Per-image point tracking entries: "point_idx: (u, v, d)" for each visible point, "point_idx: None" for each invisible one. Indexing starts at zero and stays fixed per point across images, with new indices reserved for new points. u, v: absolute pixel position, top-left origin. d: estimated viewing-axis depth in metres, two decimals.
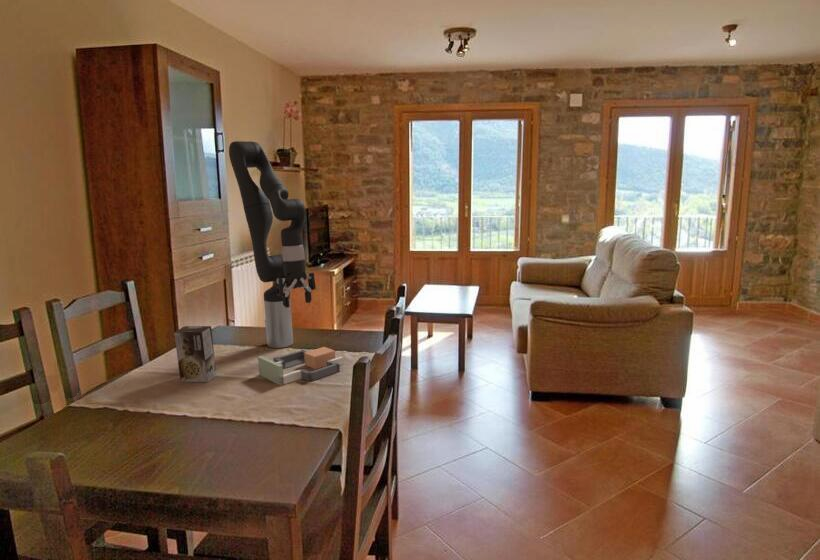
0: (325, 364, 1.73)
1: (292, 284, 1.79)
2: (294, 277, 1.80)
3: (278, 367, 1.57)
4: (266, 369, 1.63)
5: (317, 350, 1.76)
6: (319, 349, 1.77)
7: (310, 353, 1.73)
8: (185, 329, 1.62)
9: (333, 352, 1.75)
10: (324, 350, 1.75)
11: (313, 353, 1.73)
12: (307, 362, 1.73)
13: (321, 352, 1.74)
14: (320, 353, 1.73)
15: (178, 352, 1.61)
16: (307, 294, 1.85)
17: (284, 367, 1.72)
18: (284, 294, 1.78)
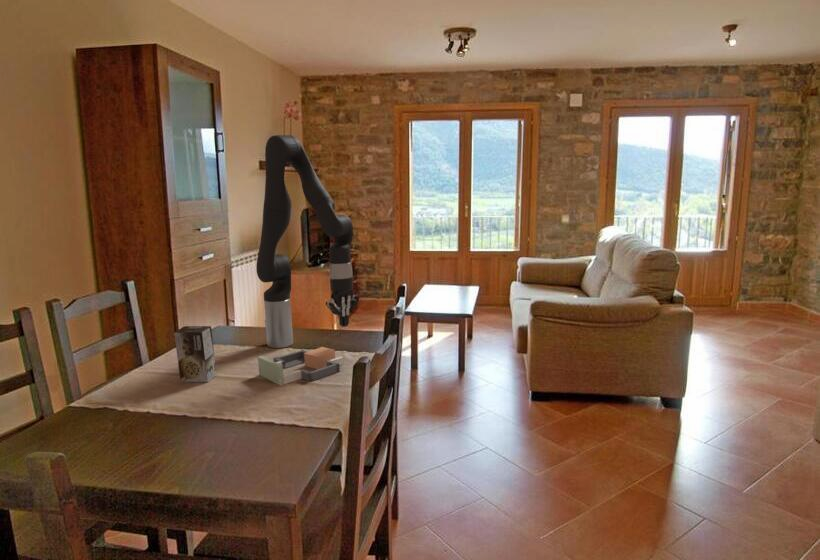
0: (326, 364, 1.73)
1: (342, 303, 1.76)
2: (342, 295, 1.76)
3: (278, 367, 1.57)
4: (266, 369, 1.63)
5: (317, 350, 1.76)
6: (318, 349, 1.76)
7: (310, 353, 1.73)
8: (185, 329, 1.62)
9: (333, 351, 1.75)
10: (324, 350, 1.76)
11: (314, 353, 1.73)
12: (308, 362, 1.73)
13: (321, 351, 1.74)
14: (321, 353, 1.73)
15: (178, 352, 1.61)
16: None
17: (284, 367, 1.72)
18: (341, 313, 1.77)
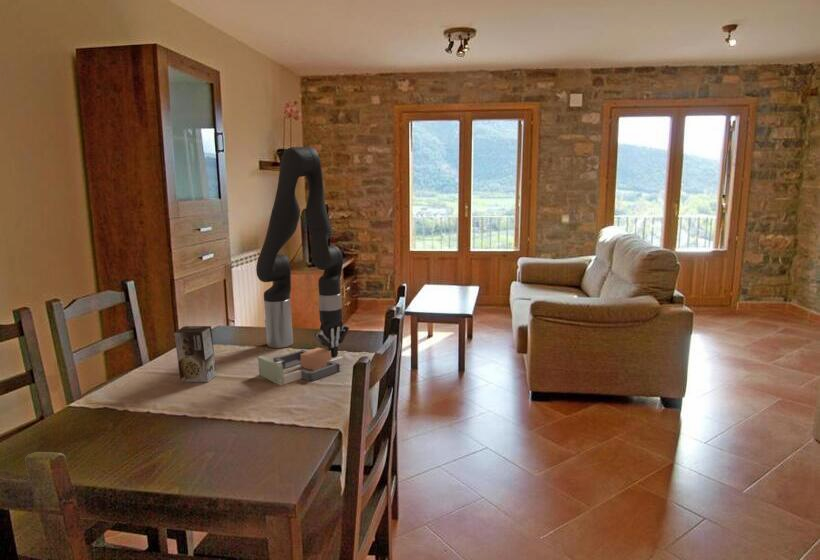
0: (322, 364, 1.73)
1: (332, 334, 1.75)
2: (331, 326, 1.75)
3: (278, 367, 1.57)
4: (266, 369, 1.63)
5: (313, 351, 1.75)
6: (314, 350, 1.76)
7: (306, 354, 1.72)
8: (185, 329, 1.62)
9: (329, 352, 1.75)
10: (320, 351, 1.75)
11: (310, 354, 1.72)
12: (304, 363, 1.72)
13: (317, 352, 1.73)
14: (317, 354, 1.72)
15: (178, 352, 1.61)
16: None
17: (284, 367, 1.72)
18: (331, 344, 1.76)
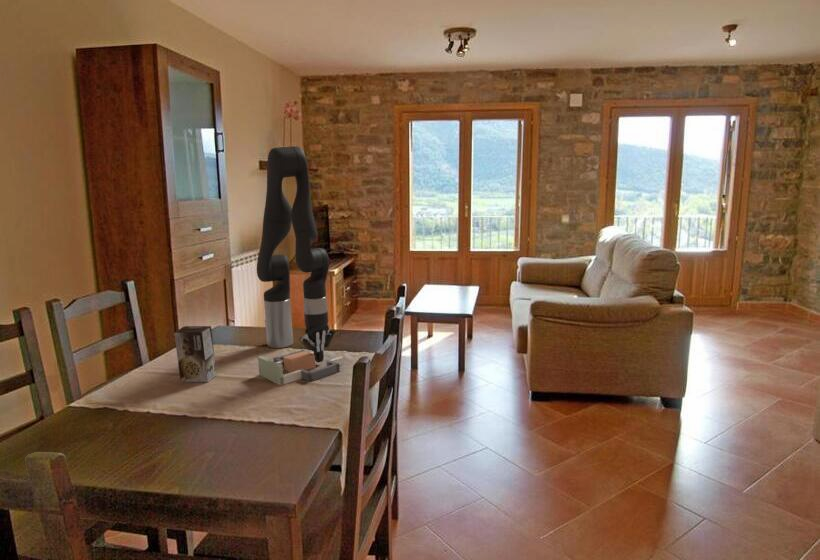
0: (304, 369, 1.69)
1: (317, 338, 1.71)
2: (316, 330, 1.71)
3: (278, 367, 1.57)
4: (266, 369, 1.63)
5: (297, 354, 1.72)
6: (299, 353, 1.73)
7: (289, 357, 1.70)
8: (185, 329, 1.62)
9: (313, 357, 1.71)
10: (304, 354, 1.72)
11: (292, 357, 1.69)
12: (286, 366, 1.70)
13: (300, 356, 1.70)
14: (299, 357, 1.69)
15: (178, 352, 1.61)
16: None
17: None
18: (316, 349, 1.72)
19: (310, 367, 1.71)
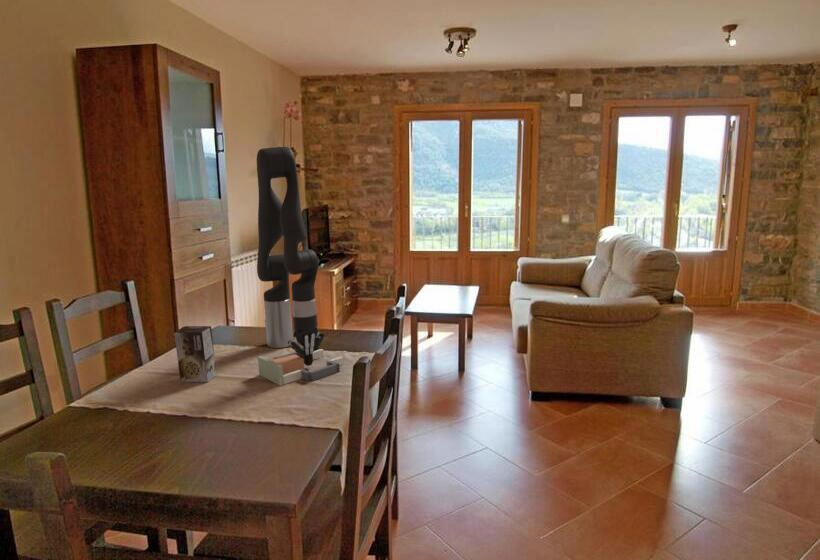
0: None
1: (306, 341, 1.68)
2: (305, 333, 1.68)
3: (278, 367, 1.57)
4: (266, 369, 1.63)
5: (286, 357, 1.70)
6: (288, 357, 1.70)
7: (277, 360, 1.67)
8: (185, 329, 1.62)
9: (301, 360, 1.68)
10: (293, 358, 1.69)
11: (280, 361, 1.67)
12: None
13: (289, 359, 1.67)
14: (287, 361, 1.66)
15: (178, 352, 1.61)
16: None
17: None
18: (305, 352, 1.69)
19: None
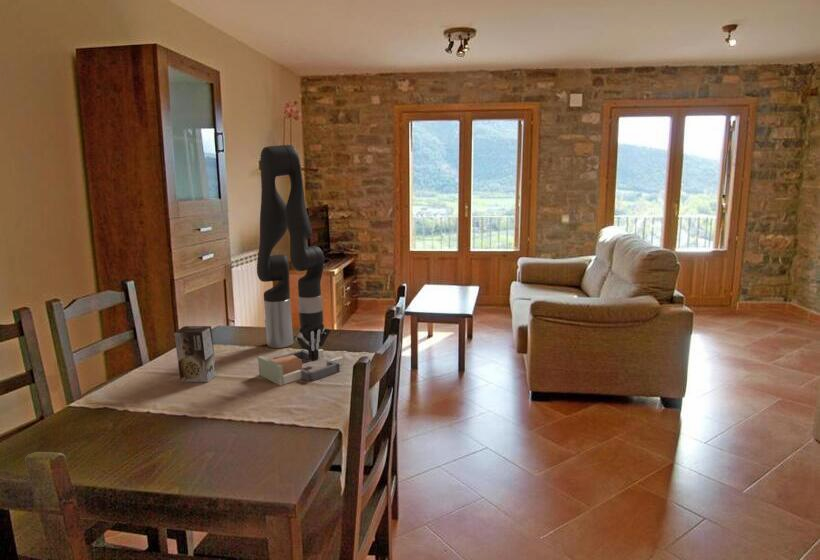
0: None
1: (312, 337, 1.70)
2: (311, 329, 1.70)
3: (278, 367, 1.57)
4: (266, 369, 1.63)
5: (284, 358, 1.69)
6: (287, 357, 1.70)
7: (275, 361, 1.67)
8: (185, 329, 1.62)
9: (299, 361, 1.67)
10: (291, 358, 1.68)
11: (278, 361, 1.66)
12: None
13: (287, 360, 1.67)
14: (285, 362, 1.65)
15: (178, 352, 1.61)
16: None
17: None
18: (311, 348, 1.71)
19: None
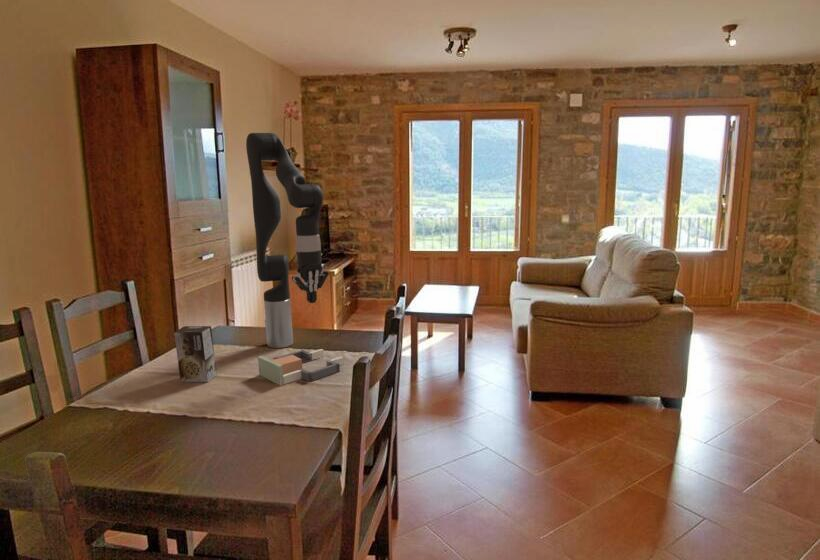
0: None
1: (310, 278, 1.66)
2: (309, 269, 1.67)
3: (278, 367, 1.57)
4: (266, 369, 1.63)
5: (284, 358, 1.69)
6: (286, 357, 1.69)
7: (275, 361, 1.66)
8: (185, 329, 1.62)
9: (300, 361, 1.67)
10: (291, 358, 1.68)
11: (278, 361, 1.66)
12: None
13: (287, 360, 1.67)
14: (285, 362, 1.66)
15: (178, 352, 1.61)
16: None
17: None
18: (309, 289, 1.68)
19: None
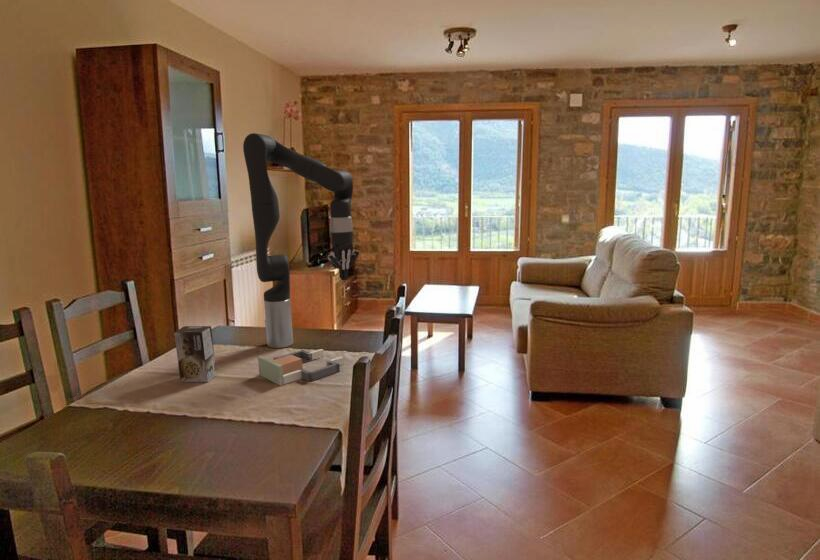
0: None
1: (342, 256, 1.82)
2: (342, 249, 1.82)
3: (278, 367, 1.57)
4: (266, 369, 1.63)
5: (283, 358, 1.69)
6: (285, 357, 1.69)
7: (275, 361, 1.66)
8: (185, 329, 1.62)
9: (300, 360, 1.68)
10: (291, 358, 1.68)
11: (279, 362, 1.66)
12: None
13: (287, 360, 1.67)
14: (286, 362, 1.66)
15: (178, 352, 1.61)
16: None
17: None
18: (341, 267, 1.83)
19: None
